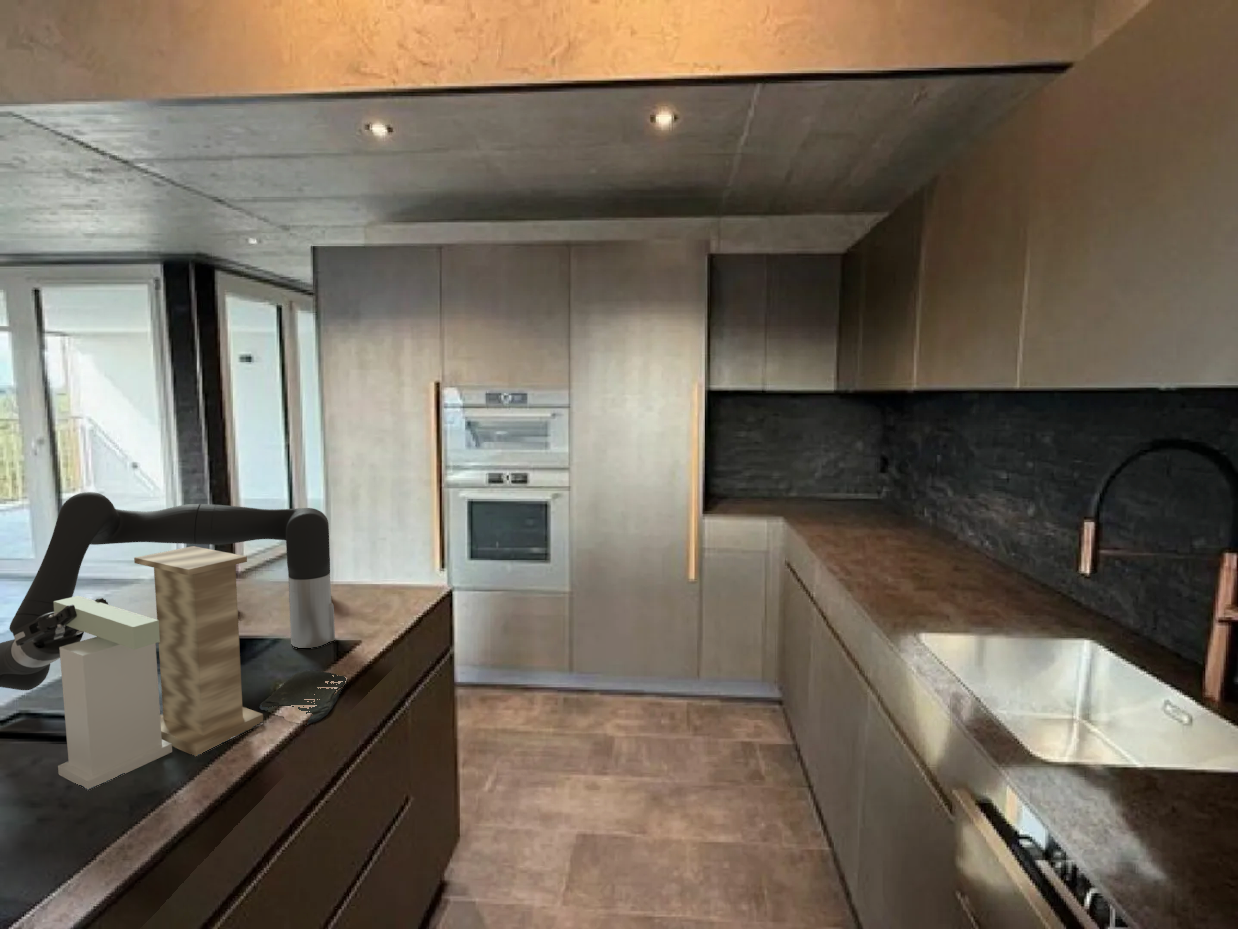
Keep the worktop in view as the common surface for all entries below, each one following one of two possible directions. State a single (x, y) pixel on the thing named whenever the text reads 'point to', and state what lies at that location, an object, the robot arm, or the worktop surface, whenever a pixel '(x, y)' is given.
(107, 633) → the bar
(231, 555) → the stand
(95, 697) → the pedestal
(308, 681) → the stone slab
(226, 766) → the worktop surface
